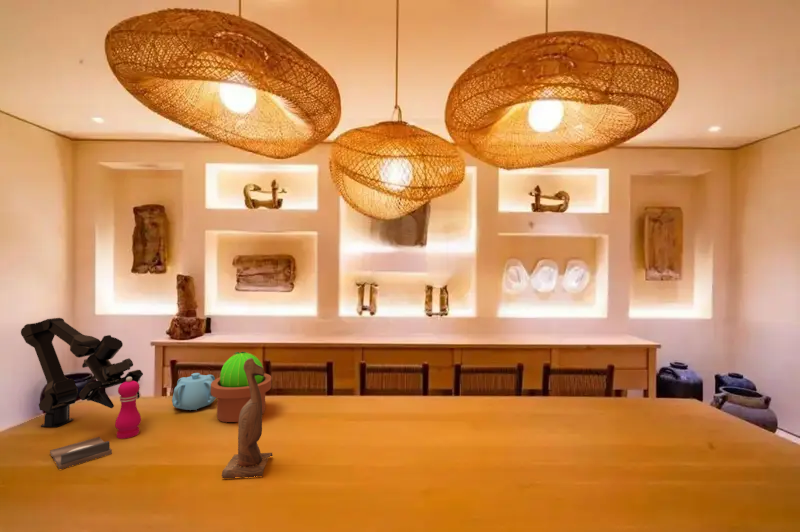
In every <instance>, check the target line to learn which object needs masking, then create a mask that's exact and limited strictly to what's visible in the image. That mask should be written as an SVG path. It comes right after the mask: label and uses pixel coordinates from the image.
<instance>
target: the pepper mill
mask: <svg viewBox="0 0 800 532" xmlns="http://www.w3.org/2000/svg"><path fill="white" fill-rule="evenodd" d="M138 391H139V392H140V384H139V382H138V383H137V382H136V381H132V377H127V378H126V382H124V383H122V384H119V386H118V388H117V392H118V394H119V402H120V410H119V412H118V415H117V416H116V418H115V419H116V420H115V424H114V426H115V428H116V430H117V431H116V439H119V440H120V439H124V440H125V439H129V438H133V437H136V436H137V435H139V434H140V427H139V425H140V424H141V422H142V418H141V417H142V416H141V414H140V412H139V410H138V407H137V400H138V399H139V398H138V397H137V395H138V394H136V393H137V392H138ZM137 398H138V399H137Z"/></svg>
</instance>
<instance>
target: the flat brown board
mask: <svg viewBox="0 0 800 532" xmlns="http://www.w3.org/2000/svg"><path fill="white" fill-rule="evenodd" d="M50 454H51V455H50ZM109 454H110V455H112V454H113V450H112V448H110V441H109V440H107V441H104V440H103V439H102V438H101V437H100V436H97V437H93V438H90V439H86V440H83V441H78V442H76V443H72V444H68V445H65V446H61V447H58V448H54V449H51V450H49V455H50V457H51V456H52V457H53V459H54V460H53V459H52V460H53V462H54V461H55V462H56V464H57V465H56V464H55V465H56V466H58V467H59V468H58V467H57V468H58V470H59V469H62V470H64V469H63V468H65V469H67V468H66V467H68V468H70V467H69V466H71V467H73V466H72V465H75V466H77V465H76V464H78V465H80V464H79V463H81V464H83V462H84V463H87V462H90V461H89V460H91V461H93V460H92V459H94V460H96V459H95V458H97V459H100V458H102V456H103V457H106V456H110V455H109ZM105 455H106V456H105ZM52 457H51V458H52ZM99 457H100V458H99ZM86 461H87V462H86ZM55 462H54V463H55Z"/></svg>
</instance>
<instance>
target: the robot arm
mask: <svg viewBox="0 0 800 532" xmlns="http://www.w3.org/2000/svg"><path fill="white" fill-rule="evenodd" d="M20 335H21V336H22V338H23V340H24V342H25V344H28V345H29V346H30V347H32V348H34V350H35V353H36V356H37V360H38V362H39V364H40V367H41V370H42V372H43V374H44V377H45V380H46V383H47V384H46V386H45V387H46V388H44V391H43V393H44V398H43V399H42V400H41V401H40V402H39V403H38V407H39V411H45V412H44V413H45V414H44V423H43V424H41V425H40V428H41V427H42V428H43V427H44V428H58V427H61V426H63V425H65V424H67V423H70V422H72V421H74V418H71V417H70V406H71V405H74V404H75V403H76V401H77V397H79V398H80V399H81V401H85V400H86V401H87V402H89V401H90V402H95V403H97V404H101V405H102V406H105V407H107V408H110V409H113V408H114V407H115V404H114V403H113V401H112V400H111V398H110V397H109V396H108V394H107V391H106V389H108V388H111V387H115V386H118V385H121V384H122V383H124V382H126V378H127V377H132V381H136V382H137V383H138V384H139V380H140V379H141V377H143V375H144V373H143V371H142V370H141V369H134V370H132V371H129V370H131V368H132V367H133V366H134V363H133V362H134V361H132V359H131V358H130V357H129V358H126V359H124V360H122V361H121V362H116V363H112V362H111V361H110V360H112V359H113V358H114V357H115V356H116V354H117V353H118V352H119V351H120V350H121V348H122V347H124V346H123V342H122V340H120V339H119V338H117V337H114V336H111V334H108V335H104V336H103V337H102V339H101V340H100V339H99V338H97V337H94V336H92V335H86V334H83V333H82V332H80V331H78V329H76V328H74V327H73V326H71V325H70V324H68V323H67V322H66V321H65V320H64V318H62V317H54V318H47V319H44V320H42V321H38V322H32V323H26V324H25V325H24V326H23V327H22V328H21V329H20ZM55 336H56V337H57V338H59V339H60V340H62V341H63V342H65V343H66V344H67V345H68V346H69V351H70V352H71V353H72V354H73V355H74V356H75V357H76V358H83V357H87V358H85V359H84V360H83V363H82V365H81V367H82V368H89V370H90V372H91V374H92V377H91V378H92V380H93V381H92V382H89V383H86V384H85V385H84V387H83V388H82V389H81V391H80V392H79V390H78V386H77V384H76V381H75V379H74V378H67V377H66V375H65V374H64V370H63V368H62V365H61V362H60V359H59V357H58V354H57V352H56V350H55V345H54V344H53V341H54V338H55ZM126 371H128V372H127V374H126V375H125V372H126ZM123 375H125V376H124V377H123ZM95 380H96V381H95ZM136 394H138V395H137V397H138V398H137V399H136V400H138V399H139V398H140V390H139V391H138V392H137V393H136ZM78 395H79V396H78Z"/></svg>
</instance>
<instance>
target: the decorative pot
mask: <svg viewBox="0 0 800 532" xmlns="http://www.w3.org/2000/svg"><path fill="white" fill-rule="evenodd" d="M215 379H216V378H215V376H214V375H213V374H207V375H205V374H201V373H200V372H194V373H191V374H190V376H186V377H184V376H183V377H180V378H178V380H177V382H176V386H175V387H174V389H173V395H172V398H171V402H172V406H173V408H176V409H180V410H186V411H188V410H189V411H191V410H196V411H198V410H199V409H201V408H205V407H206V406H211V404H212V403H214V401H215V400H217V398H216V397H213V396H212V395H211V383H212V382H213V381H214V380H215ZM197 409H198V410H197Z"/></svg>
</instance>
